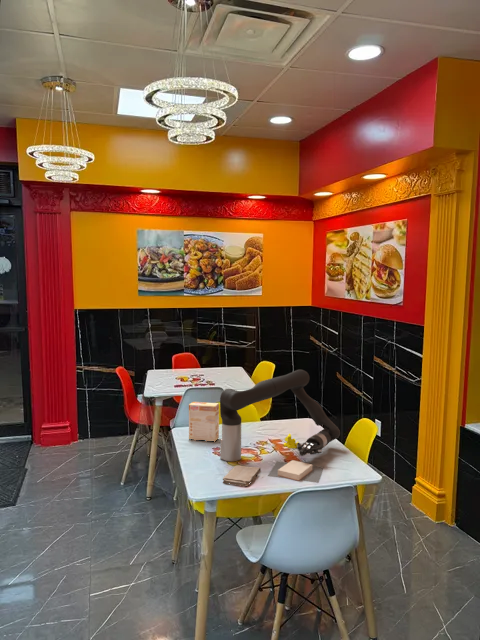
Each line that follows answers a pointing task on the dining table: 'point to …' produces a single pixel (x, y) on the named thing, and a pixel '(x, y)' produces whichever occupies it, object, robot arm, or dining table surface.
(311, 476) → the mat
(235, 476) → the washcloth
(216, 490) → the dining table surface
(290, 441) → the crumpled paper
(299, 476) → the tile
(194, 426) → the coffeecake box
